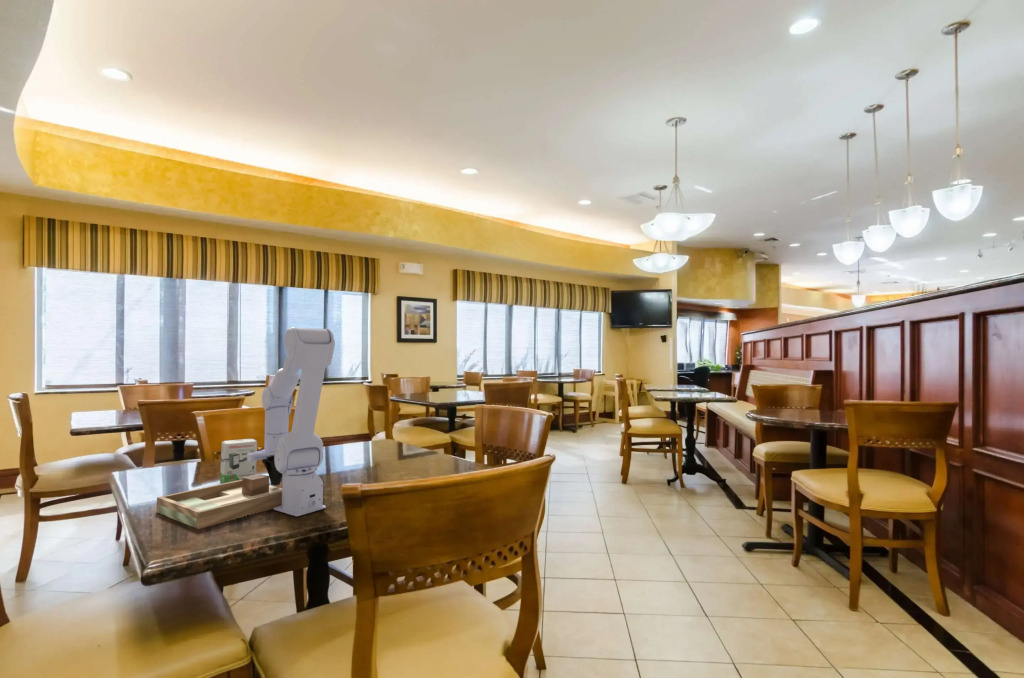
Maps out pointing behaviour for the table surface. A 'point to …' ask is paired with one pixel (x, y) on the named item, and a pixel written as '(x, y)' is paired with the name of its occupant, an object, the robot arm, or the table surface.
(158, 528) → the table surface
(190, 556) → the table surface
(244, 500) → the board
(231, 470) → the ink box
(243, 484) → the walnut block
